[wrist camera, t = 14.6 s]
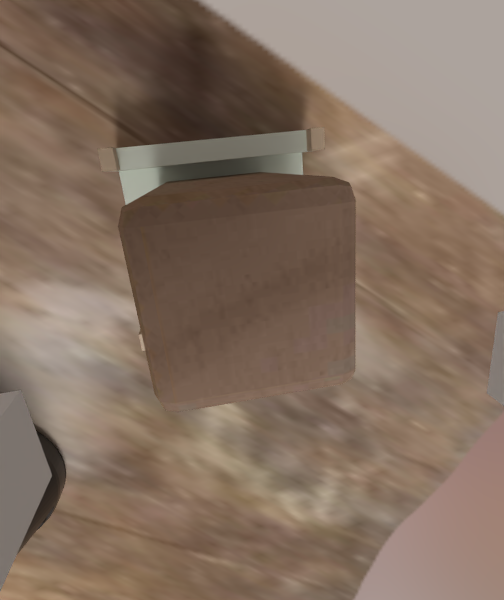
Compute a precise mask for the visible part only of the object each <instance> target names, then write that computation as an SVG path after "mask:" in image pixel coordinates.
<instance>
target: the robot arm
mask: <svg viewBox="0 0 504 600" xmlns="http://www.w3.org/2000/svg"><path fill="white" fill-rule="evenodd" d="M487 393H488V394H489V395H490V396H492V397H493V398H494V399H495V400H497V401H498V402H499V403H501V404H502V405H503V406H504V311H503V312H498V317H497V324H496V332H495V339H494V346H493V353H492V360H491V367H490V374H489V382H488V389H487ZM64 484H65V467H64V463H63V460H62V458H61V456H60V454H59V452H58V451H57V449H56V448H55V447H54V446H53V444H52V443H51V442H50V441H49V440H48V439H47V438H45V437H44V436H43V435H41V434H40V433H39V432H37V431H36V430H35V427H34V424H33V421H32V419H31V416H30V413H29V410H28V408H27V405H26V402H25V399H24V397H23V394H22V391H21V390H18V391H12V392H6V393H0V591H1V588H2V586H3V584H4V582H5V579H6V577H7V575H8V573H9V570H10V568H11V566H12V564H13V562H14V559H15V557H16V555H17V554H18V553H19V551H20V550H21V549H22V548H23V546H24V545H25V544H26V543H27V542H28V540H29V539H30V538H31V537H32V535H33V534H34V533H35V532H36V530H38V529H39V528H40V527H41V526H42V525H43V524H44V523H45V522H46V521H47V520H48V518H49V517H50V516H51V514H52V513H53V511H54V509H55V508H56V505H57V503H58V501H59V498H60V496H61V493H62V491H63V488H64Z"/></svg>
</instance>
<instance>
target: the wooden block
mask: <svg viewBox="0 0 504 600" xmlns="http://www.w3.org/2000/svg"><path fill="white" fill-rule="evenodd" d="M118 228H119V232H120V237H121V241H122V246H123V251H124V255H125V260H126V264H127V269H128V273H129V278H130V283H131V287H132V292H133V296H134V301H135V306H136V310H137V315H138V319H139V324H140V328H141V333H142V338H143V342H144V347H145V351H146V356H147V361H148V365H149V370H150V374H151V379H152V383H153V388H154V393H155V395H156V397H157V398H158V400H159V401H160V403H161V405H162V406H163V408H164V409H165V410H167V411H174V412H181V411H187V410H193V409H199V408H205V407H211V406H217V405H222V404H228V403H234V402H240V401H246V400H252V399H258V398H263V397H269V396H275V395H281V394H287V393H293V392H299V391H304V390H310V389H316V388H322V387H328V386H334V385H340V384H343V383H345V382H346V381H348V380H350V379H352V377H353V374H354V372H355V233H356V200H355V197H354V194H353V191H352V187H351V185H350V184H349V182H346V181H343V180H340V179H337V178H334V177H326V176H312V175H297V174H282V173H268V172H255V173H246V174H236V175H227V176H217V177H208V178H198V179H189V180H179V181H169V182H166V183H164V184H162V185H161V186H159V187H157V188H155V189H153V190H152V191H150V192H148V193H146V194H145V195H143V196H141V197H139V198H138V199H136V200H134V201H132V202H131V203H129V204H127V205H125V206H124V207H122V209H121V214H120V220H119V225H118Z"/></svg>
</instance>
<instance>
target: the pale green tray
mask: <svg viewBox="0 0 504 600" xmlns="http://www.w3.org/2000/svg"><path fill="white" fill-rule="evenodd" d="M323 149H325V137H324V127H320V128H310V129H307V130H300V131H290V132H279V133H269V134H258V135H248V136H238V137H227V138H217V139H206V140H196V141H186V142H175V143H165V144H154V145H144V146H134V147H123V148H113V147H111V148H101V149H97V151H98V155H99V159H100V164H101V168H102V172H113V171H119V175H120V179H121V184H122V189H123V194H124V198H125V203H126V205H127V204H129V203H131V202H132V201H134V200H136V199H138V198H139V197H141V196H143V195H145V194H146V193H148V192H150V191H152V190H153V189H155V188H157V187H159V186H161V185H162V184H164V183H166V182H169V181H179V180H189V179H198V178H208V177H217V176H227V175H236V174H246V173H255V172H268V173H282V174H297V175H303V164H302V152H309V151H316V150H323ZM139 338H140V343H141V347H142V351H145V347H144V342H143V338H142V333H141V329H140V332H139Z"/></svg>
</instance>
